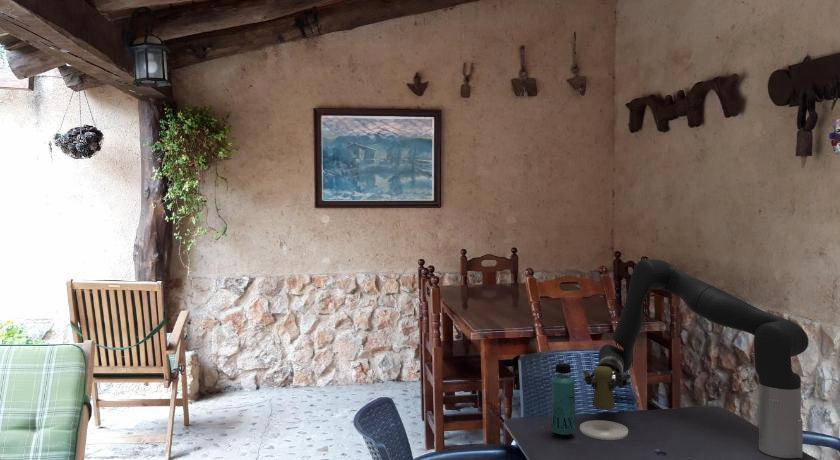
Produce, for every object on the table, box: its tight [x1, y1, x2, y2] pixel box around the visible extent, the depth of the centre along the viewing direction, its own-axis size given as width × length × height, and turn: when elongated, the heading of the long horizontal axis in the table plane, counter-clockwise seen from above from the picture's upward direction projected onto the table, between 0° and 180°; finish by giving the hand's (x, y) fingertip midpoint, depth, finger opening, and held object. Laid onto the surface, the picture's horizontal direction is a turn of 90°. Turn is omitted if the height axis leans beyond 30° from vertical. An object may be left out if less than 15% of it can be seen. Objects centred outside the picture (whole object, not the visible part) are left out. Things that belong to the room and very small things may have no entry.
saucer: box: [579, 419, 629, 441], centre depth 171 cm, size 13×13×1 cm
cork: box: [592, 366, 616, 410], centre depth 171 cm, size 6×6×11 cm
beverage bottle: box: [550, 362, 576, 435], centre depth 168 cm, size 6×7×20 cm
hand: (602, 386), depth 169 cm, fingers closed on cork, 3 cm apart
